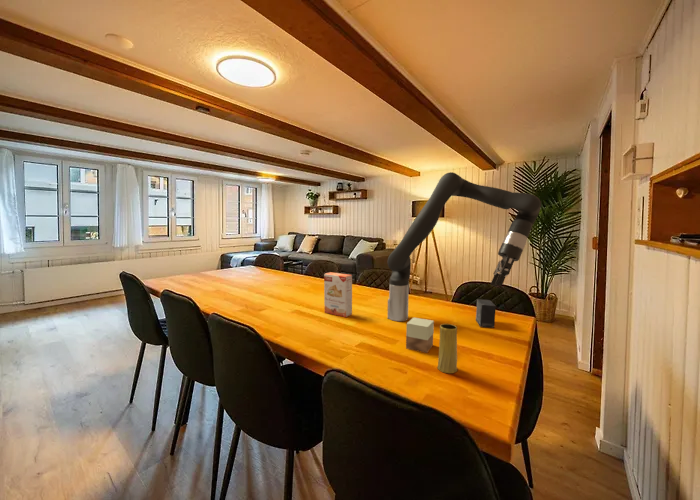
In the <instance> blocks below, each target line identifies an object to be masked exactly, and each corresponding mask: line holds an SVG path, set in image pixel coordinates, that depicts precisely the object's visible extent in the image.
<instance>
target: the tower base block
mask: <svg viewBox="0 0 700 500" xmlns="http://www.w3.org/2000/svg"><path fill="white" fill-rule="evenodd" d="M405 337H406V338H405V339H406V340H405V348H406V349H407V350H412V351H416V352H420V351H421V353H427V354H428V353H429V352H430V349H431V348H432V347H433V346H434V334H433V335H432V336H431V337H430V338H429V339H428V340H423V339H418V338H413V337H408V336H405Z"/></svg>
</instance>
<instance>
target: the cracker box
mask: <svg viewBox="0 0 700 500" xmlns="http://www.w3.org/2000/svg"><path fill="white" fill-rule="evenodd" d="M323 281H324V282H323V284H324V286H323V287H324V289H323V290H324V292H323V293H324V313H326V314H331V315H335V316H338V317H339V316H340V317H344V318H347V317H349V316H351V315H353V275H352V274H346V273H340V272H331V271H329V272H326V273H324V275H323Z"/></svg>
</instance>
